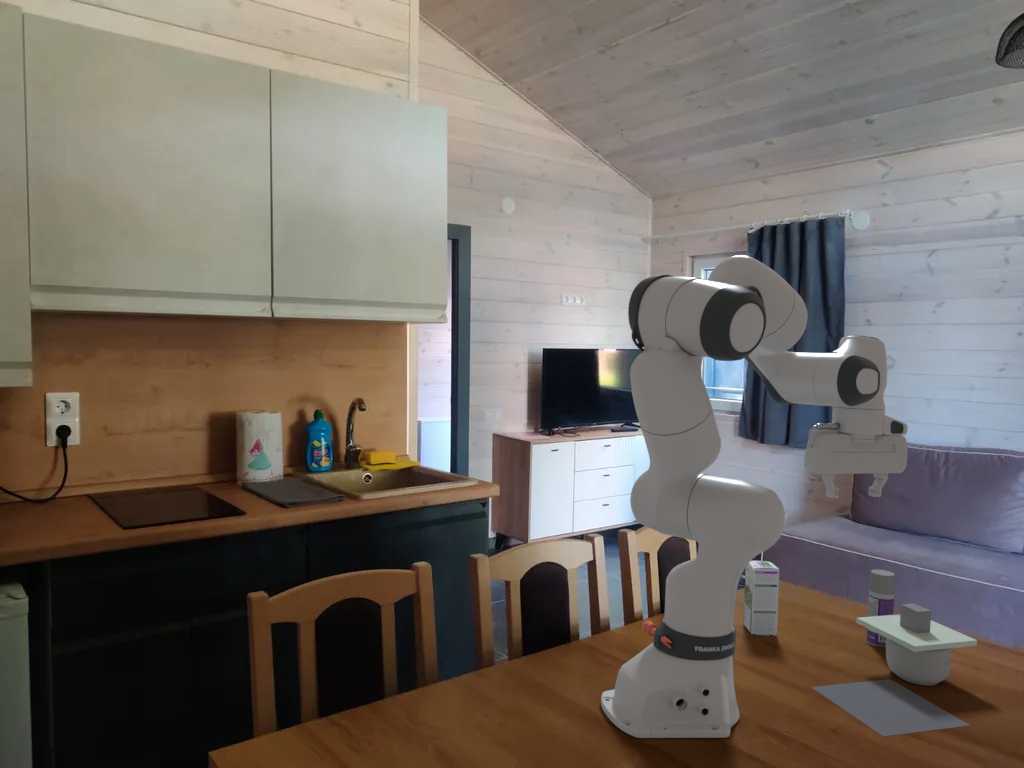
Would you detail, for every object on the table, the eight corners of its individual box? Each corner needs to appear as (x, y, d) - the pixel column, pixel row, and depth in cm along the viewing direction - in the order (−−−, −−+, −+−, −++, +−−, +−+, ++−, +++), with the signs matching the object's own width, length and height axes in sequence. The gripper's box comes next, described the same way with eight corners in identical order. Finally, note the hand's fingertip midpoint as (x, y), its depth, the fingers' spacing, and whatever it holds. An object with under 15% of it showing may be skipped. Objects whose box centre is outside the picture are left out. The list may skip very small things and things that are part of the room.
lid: (914, 651, 128) (916, 623, 128) (856, 622, 141) (857, 597, 141) (976, 645, 132) (978, 618, 132) (914, 618, 145) (915, 593, 145)
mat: (883, 739, 113) (883, 736, 113) (810, 689, 129) (810, 687, 129) (970, 727, 118) (970, 725, 118) (889, 681, 134) (890, 679, 134)
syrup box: (777, 636, 154) (781, 568, 153) (749, 635, 154) (753, 567, 154) (768, 626, 160) (772, 560, 159) (741, 624, 160) (745, 559, 159)
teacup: (959, 695, 129) (962, 651, 129) (892, 688, 131) (895, 644, 131) (930, 663, 143) (933, 623, 142) (871, 657, 145) (873, 617, 145)
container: (892, 642, 153) (896, 572, 152) (890, 650, 149) (894, 577, 148) (867, 637, 155) (871, 567, 155) (864, 644, 151) (868, 573, 151)
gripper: (821, 424, 130) (817, 501, 131) (915, 425, 135) (910, 499, 136) (798, 421, 136) (795, 494, 137) (889, 422, 142) (885, 492, 142)
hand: (853, 497), depth 136 cm, fingers open, 8 cm apart
